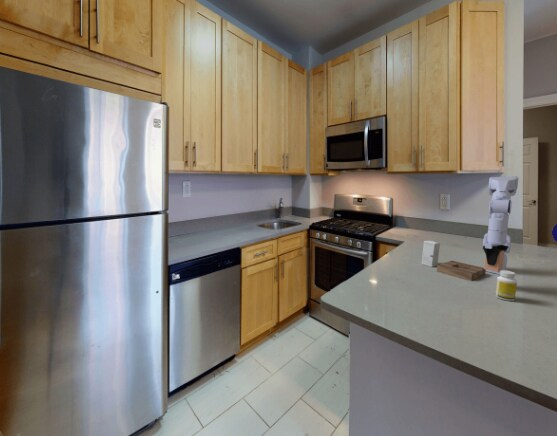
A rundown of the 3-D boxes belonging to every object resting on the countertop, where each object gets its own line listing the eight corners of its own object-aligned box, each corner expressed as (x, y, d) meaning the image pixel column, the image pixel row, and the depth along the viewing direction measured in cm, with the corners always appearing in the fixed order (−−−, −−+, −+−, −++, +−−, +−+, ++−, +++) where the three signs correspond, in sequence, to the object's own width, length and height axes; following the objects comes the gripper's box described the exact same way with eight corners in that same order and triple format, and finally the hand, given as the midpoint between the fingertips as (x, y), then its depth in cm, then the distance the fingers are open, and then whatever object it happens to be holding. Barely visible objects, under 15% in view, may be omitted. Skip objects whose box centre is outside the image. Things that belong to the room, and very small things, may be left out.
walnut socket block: (451, 266, 128) (452, 260, 128) (485, 274, 117) (486, 268, 116) (436, 271, 121) (437, 265, 121) (471, 280, 109) (471, 274, 109)
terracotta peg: (488, 267, 106) (490, 248, 105) (502, 270, 102) (504, 250, 101) (484, 269, 103) (486, 249, 102) (497, 272, 100) (500, 252, 98)
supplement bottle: (518, 302, 90) (522, 275, 88) (500, 300, 91) (503, 274, 90) (508, 295, 95) (511, 270, 94) (491, 294, 96) (494, 269, 95)
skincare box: (421, 263, 133) (422, 240, 131) (427, 262, 134) (428, 240, 133) (432, 267, 127) (434, 243, 125) (438, 266, 129) (440, 242, 127)
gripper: (503, 233, 93) (499, 269, 95) (517, 229, 101) (513, 263, 103) (480, 230, 99) (476, 264, 101) (495, 227, 107) (491, 258, 109)
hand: (493, 263), depth 102 cm, fingers closed on terracotta peg, 4 cm apart
